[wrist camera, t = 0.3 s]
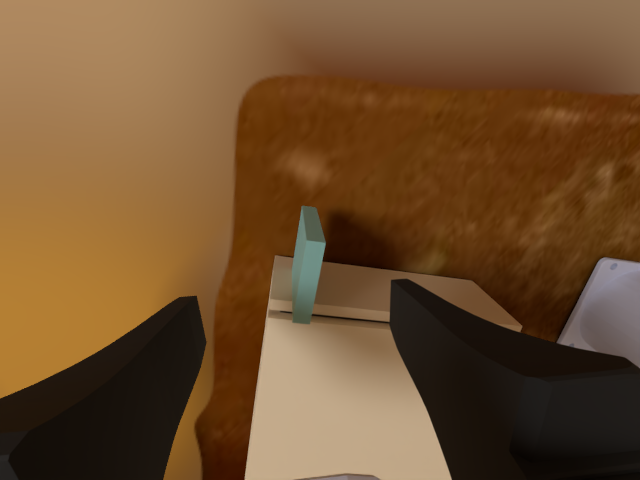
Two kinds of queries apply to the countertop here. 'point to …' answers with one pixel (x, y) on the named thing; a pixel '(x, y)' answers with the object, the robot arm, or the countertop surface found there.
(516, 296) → the countertop surface
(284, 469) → the carton
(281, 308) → the flap
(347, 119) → the countertop surface
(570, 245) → the countertop surface
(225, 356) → the countertop surface
